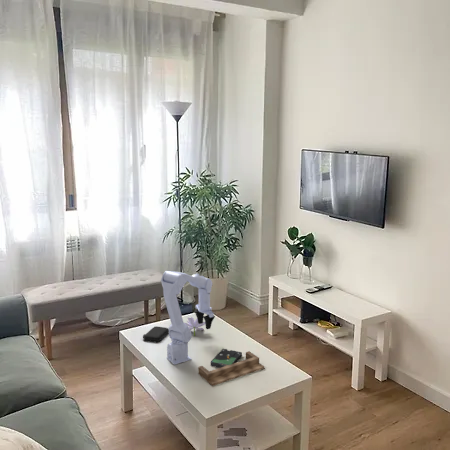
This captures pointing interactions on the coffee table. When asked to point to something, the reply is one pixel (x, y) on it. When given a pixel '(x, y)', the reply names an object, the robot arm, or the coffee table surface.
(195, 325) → the water lily
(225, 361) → the disk drive
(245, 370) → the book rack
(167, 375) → the coffee table surface
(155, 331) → the carrying case or bag
